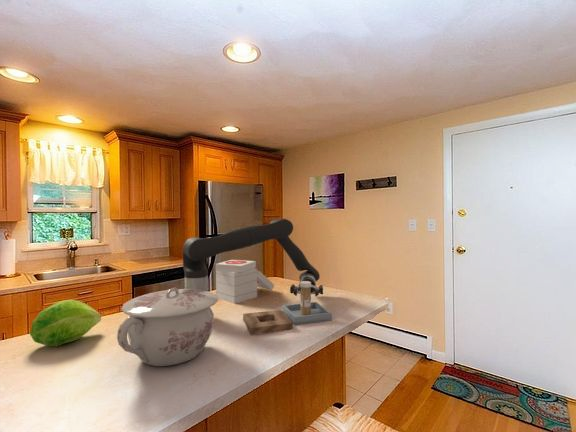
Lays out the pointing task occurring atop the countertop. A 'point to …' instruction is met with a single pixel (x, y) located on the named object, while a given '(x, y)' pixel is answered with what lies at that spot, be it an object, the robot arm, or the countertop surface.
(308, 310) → the spice jar
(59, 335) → the green papaya
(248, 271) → the pizza boxes
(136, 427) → the countertop surface
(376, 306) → the countertop surface
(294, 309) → the parts tray
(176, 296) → the chamber pot
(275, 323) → the socket board
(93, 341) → the countertop surface
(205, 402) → the countertop surface
